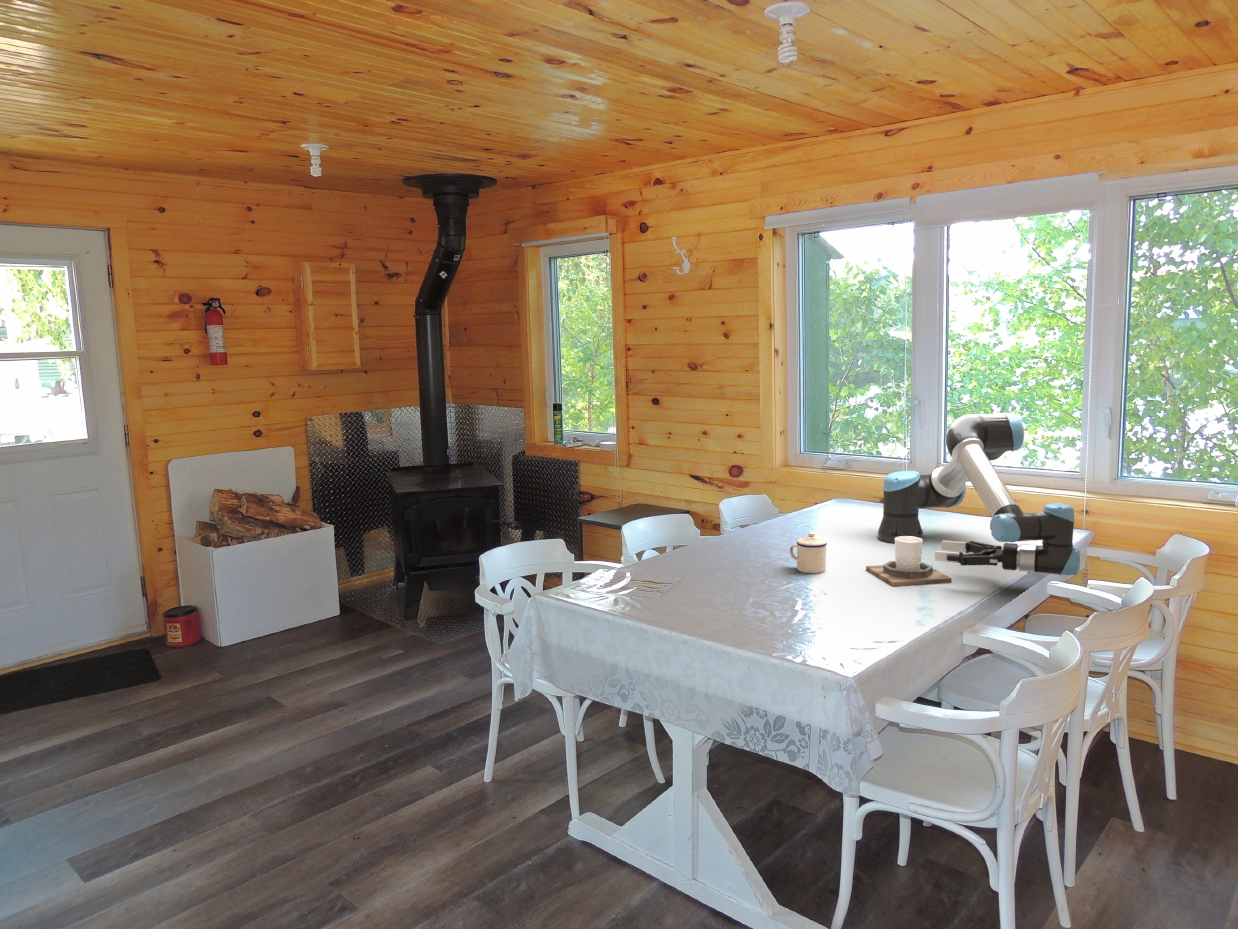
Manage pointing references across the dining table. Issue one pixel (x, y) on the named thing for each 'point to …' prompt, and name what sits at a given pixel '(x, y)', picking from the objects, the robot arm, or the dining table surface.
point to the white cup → (908, 553)
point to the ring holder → (907, 574)
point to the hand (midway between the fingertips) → (938, 550)
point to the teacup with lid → (810, 554)
